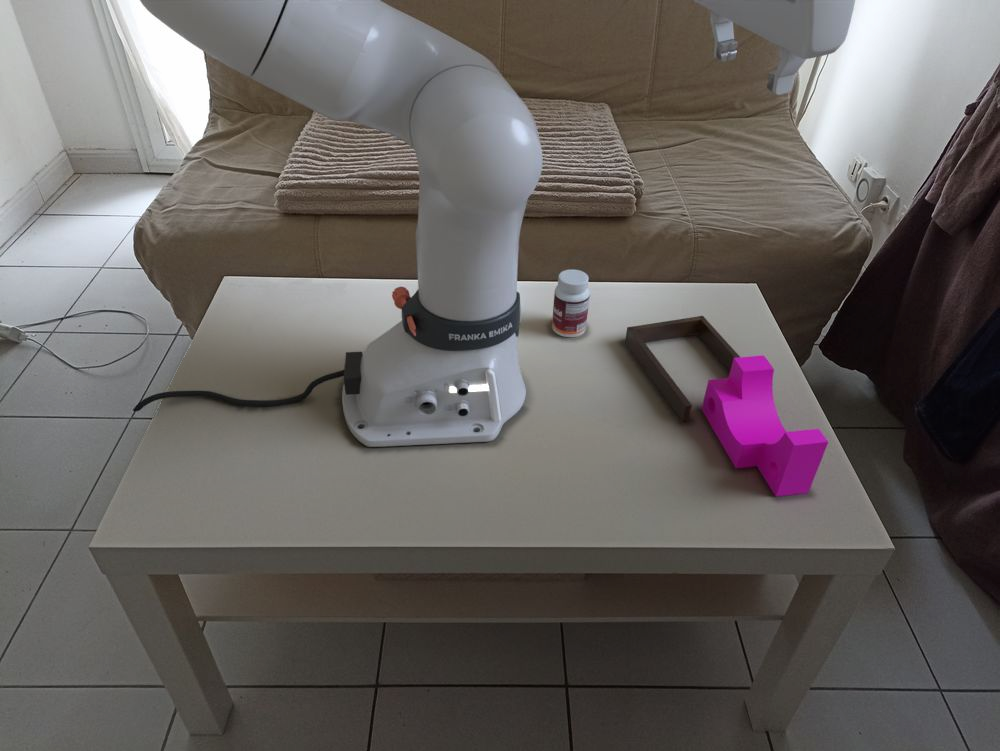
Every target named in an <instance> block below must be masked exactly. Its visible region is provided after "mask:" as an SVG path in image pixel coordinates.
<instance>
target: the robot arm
mask: <svg viewBox="0 0 1000 751" xmlns="http://www.w3.org/2000/svg"><path fill="white" fill-rule="evenodd" d="M139 1H140V3H141V4H142V6H143V7H144V8H145V9H146V11H147V12H149V13H150V15H153V17H155V18H156V19H157V20H159V21H160V22H161V23H162V24H164V25H165V26H166V27H167V28H169V29H170V30H172V31H173V32H174V33H176V34H177V35H179V36H180V37H181V38H183V39H184V40H186V41H187V42H188V43H190V44H192V45H194V46H195V47H196V48H198V49H199V50H201V51H202V52H204V53H205V54H207V55H208V56H210V57H212V58H213V59H215V60H218V61H219V62H220V63H222V64H224V65H225V66H227V67H229V68H231V69H233V70H234V71H236V72H238V73H239V74H242V75H243V76H246V77H249V79H251V80H253V81H255V82H257V83H258V84H261V85H262V86H265V87H267V88H269V89H271V90H273V91H274V92H276V93H278V94H280V95H282V96H284V97H286V98H287V99H290V100H291V101H294V102H296V103H298V104H300V105H302V106H303V107H305V108H307V109H309V110H311V111H313V112H315V113H317V114H319V115H321V116H323V117H325V118H327V119H329V120H331V121H335V122H341V123H342V122H347V123H348V122H349V123H353V124H357V125H361V126H364V127H367V128H370V129H374V130H377V131H379V132H383V133H385V134H388V135H391V136H393V137H394V138H395V137H396V138H397V139H399V140H400V141H403V142H404V143H405V144H406V145H408V146H409V147H410V148H411V149H413V150H414V153H415V157H416V160H417V168H418V185H419V186H418V187H419V188H418V190H419V191H418V212H417V213H418V214H417V224H416V227H415V251H416V271H417V289H416V291H415V293H414V294H413V295H412V296H411V294H410V291H409V290H408V289H407V287H405V286H398V287H395V288H394V289H393V291H392V292H391V293H392V294H391V297H392V300H393V304H394V306H395V307H396V308H397V309H399V310H401V320H400V321H399V322H397V323H396V324H395V325H394V326H392V327H391V328H389V329H388V330H386V331H385V332H383V333H382V334H380V335H379V336H378V337H377V338H375V339H373V340H372V341H370V342H369V343H368V344H367V345H366V347H365V349H364V350H363V351H346V352H345V358H344V369H342V370H337V371H335V372H331V373H328V374H324V375H322V376H319V377H318V378H316V379H314V380H312V381H311V382H310V383H309V384H308V386H307V387H306V388H305V390H304V391H303V392H302V393H300V394H298V395H295V396H291V397H288V398H283V399H273V400H271V399H269V400H263V399H262V400H261V399H260V400H259V399H256V400H255V399H241V398H235V397H231V396H228V395H225V394H222V393H218V392H213V391H210V390H171V391H164V392H159V393H155V394H152V395H149V396H147V397H146V398H144V399H142V400H141V401H139V402H138V403H137V404H136V405H134V407H133V409H132V412H139V411H141V410H142V409H143V408H145V407H146V406H147V405H149V404H151V403H153V402H156V401H158V400H162V399H168V398H184V397H186V398H187V397H188V398H189V397H204V398H211V399H214V400H218V401H221V402H224V403H228V404H230V405H235V406H246V407H279V406H285V405H290V404H295V403H297V402H300V401H303V400H305V399H306V398H307V397H308V396H310V395H311V393H312V391H314V388H316V387H317V386H318V385H321V384H323V383H325V382H328V381H332V380H334V379H338V378H339V379H340V378H341V377H343V385H342V390H341V391H342V392H341V404H342V412H343V416H344V420H345V422H346V425H347V428H348V429H349V431H350V433H351V434H352V435H353V437H354V438H355V439H356V440H357V441H358V442H360V443H361V444H362V445H364V446H365V447H369V448H373V447H374V448H378V447H380V448H381V447H382V448H383V447H401V446H402V447H403V446H422V445H424V446H425V445H444V444H445V445H447V444H466V443H486V442H487V443H488V442H491V441H493V440H495V439H497V437H498V436H499V434H500V433H501V430H502V428H503V426H504V424H505V423H506V422H508V421H509V420H511V418H512V417H514V416H515V415H516V414H517V413H518V412H519V411H520V410H521V408H523V405H524V403H525V401H526V397H527V388H526V383H525V381H524V378H523V375H522V371H521V366H520V360H519V350H518V340H517V338H518V337H519V335H520V326H521V319H522V304H521V293H520V292H519V291H518V271H519V270H518V269H519V268H518V267H519V248H520V247H519V246H520V235H521V230H522V224H523V219H524V215H525V213H526V212H525V211H526V208H527V204H528V200H529V198H530V197H531V195H532V194H533V193H534V191H535V189H536V188H537V186H538V185H539V184H538V183H539V181H540V179H541V176H542V171H543V165H544V164H543V163H544V159H543V158H544V157H543V150H542V143H541V139H540V134H539V130H538V127H537V124H536V120H535V118H534V116H533V114H532V112H531V110H530V109H529V108H528V106H527V105H526V103H525V102H524V101H523V100H522V99H521V97H520V96H519V95H518V93H517V92H516V91H515V90H514V88H513V87H512V86H511V84H509V82H508V81H507V79H506V78H505V77H504V76H503V75H502V74H501V72H500V71H499V70H498V68H497V67H496V65H494V63H493V62H492V61H491V60H490V59H489V58H487V56H484V55H483V54H481V53H480V52H478V51H476V50H474V49H473V48H471V47H469V46H467V45H466V44H464V43H462V42H461V41H459V40H457V39H456V38H454V37H452V36H450V35H448V34H446V33H444V32H442V31H440V30H438V29H437V28H435V27H433V26H431V25H429V24H427V23H425V22H423V21H421V20H419V19H417V18H416V17H413V16H412V15H409V14H407V13H406V12H403V11H401V10H399V9H397V8H395V7H393V6H391V5H389V4H388V3H386V2H384V1H383V0H139ZM692 1H693V2H695V3H696V4H698V5H700V6H702V7H704V8H705V9H707V10H709V11H710V16H709V17H710V18H709V21H710V27H711V31H712V35H713V40H714V48H713V57H714V58H715V59H717V60H719V61H720V62H722V63H727V62H732V61H734V60H735V59H736V58H737V53H738V52H737V50H738V47H739V41H738V40H736V39H735V33H734V31H735V30H734V24H736V25H738V26H740V27H742V28H744V29H746V30H748V31H749V32H751V33H753V34H755V35H757V36H759V37H761V38H763V39H765V40H766V41H768V42H771V43H772V44H774V45H776V46H777V47H779V49H778V55H777V56H778V58H779V59H781V61H780V63H779V64H778V65H777V67H776V69H775V70H770V71H768V76H767V81H768V82H767V83H766V89H767V90H768V91H770V92H772V93H773V94H774V95H777V96H782V95H786V94H789V93H790V92H791V91H792V89H793V86H794V80H795V75H796V74H797V73H798V71H799V70H800V69H801V68H802V67H803V65H804V63H805V62H806V60H808V59H814V58H819V57H824V56H828V55H831V54H834V53H836V51H837V50H839V48H840V47H841V46H842V45H843V44H844V43H845V41H846V39H847V36H848V33H849V29H850V25H851V23H852V16H853V13H854V9H855V3H856V0H692Z"/></svg>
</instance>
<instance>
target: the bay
mask: <svg viewBox="0 0 1000 751" xmlns="http://www.w3.org/2000/svg"><path fill="white" fill-rule="evenodd" d="M694 335H697V336H698V337H699V338H700V339H701V340H702V342H704V344H705V345H706V346H707V347H708V348H709V349H710V350H711V351H712V353H713V354H714V355H715V357H717V358H718V360H719V361H720V362H721V363H722V364H723V366H724V367H725V368H726V369H727V370H728V371H729V372H730V370H731V367H732V363H733V359H734V358H738V357H741V356H740V355H739V354H738V353H737V351H735V349H734V347H732V346H731V345H730V344H729V343H728V341H727V340H726V339H724V338H725V337H723V336H722V335H721V333H719V332H718V330H717V329H716V328H715V327H714V326H713V325H712V324H711V323H710V321H708V320H707V318H706V317H705V316H704V315H697V316H692V317H691V316H690V317H686V318H679V319H673V320H672V319H671V320H666V321H659V322H652V323H647V324H646V323H645V324H640V325H633V326H627V327H626V334H625V338H624V343H625V344H626V346H627V347H628V349H629V350H630V351H631V352H632V354H633V355H634V357H635V358H636V360H637V361H638V362H639V364H640V365H641V366H642V368H643V369H644V371H645V372H646V374H647V375H648V376H649V377H650V379H651V381H653V383H654V384H655V386H656V387H657V389H658V390H659V391H660V392H661V394H662V395H663V397H664V398H665V399H666V401H667V402H668V404H669V405H670V406H671V408H672V409H673V411H674V412H675V413H676V415H677V416H678V418H679V419H680V420H681V422H687V421H689V418H690V414H691V411H692V403H691V402H690V400H689V399H688V398H687V397H686V395H685V394H684V392H683V391H682V389H680V387H679V386H678V385H677V383H676V382H675V381H674V379H673V378H672V376H670V374H669V373H668V371H667V370H666V369H665V367H664V366H663V365H662V363H661V362H660V360H658V358H657V357H656V356H655V354H654V353H653V352H652V350H651V348H649V346H648V345H647V343H651V342H656V341H661V340H669V339H675V338H681V337H688V336H694Z"/></svg>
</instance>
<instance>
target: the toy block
mask: <svg viewBox="0 0 1000 751" xmlns="http://www.w3.org/2000/svg"><path fill="white" fill-rule="evenodd" d="M774 372H775V368H774V366H773V365H772V364H771V363H770V361H769V360H768V359H767V357H766V355H764V354H762V355H750V356H740V357H738V358H734V359H733V363H732V367H731V370H730V371H729V374H728V377H726V378H713V379H708V381H707V385H706V388H705V393H704V397H703V402H702V405H701V411H702V413H703V414H704V415H705V417H706V419H707V421H708V422H709V425H710V426H711V428H712V429H713V431H714V433H715V435H716V436H717V438H718V440H719V442H720V443H721V445H722V447H723V448H724V451H725V452H726V454H727V455H728V457H729V459H730V461H731V462H732V464H733V466H734V467H735V469H745V468H752V467H757V468H758V470H759V472H760V474H761V475H762V477H763V478H764V480H765V482H766V483H767V485H768V486H769V488H770V490H771V491H772V493H773V494H774V496H775V497H785V496H793V495H802V494H809V492H810V490H811V487H812V485H813V482H814V480H815V477H816V475H817V472H818V469H819V467H820V465H821V462H822V459H823V457H824V455H825V452H826V449H827V447H828V444H829V441H828V439H827V438H826V436H825V435H824V434H823V432H822V431H821V430H820V429H819V428H812V429H811V428H810V429H801V430H793V431H787V430H786V428H785V427H784V426H783V424H782V421H781V420H780V417H779V415H778V412H777V409H776V405H775V400H774V391H773V390H774V389H773V383H774V382H773V380H774Z"/></svg>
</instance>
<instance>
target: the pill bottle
mask: <svg viewBox="0 0 1000 751" xmlns="http://www.w3.org/2000/svg"><path fill="white" fill-rule="evenodd" d="M589 280H590V278H589V275H588V274H587V273H586V272H584V271H583V270H579V269H572V268H571V269H570V268H569V269H565V270H562V271H561V272H560V273H559V274H558V279H557V285H556V286H555V288H554V294H553V306H552V318H551V319H552V320H551V329H552V330H553V332H554V333H555V334H557V335H558V336H561V337H564V338H577V337H580V336H582V335H583V334H584V333H586V329H587V323H588V322H587V321H588V314H589V305H590V298H591V291H590V288H589Z"/></svg>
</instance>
